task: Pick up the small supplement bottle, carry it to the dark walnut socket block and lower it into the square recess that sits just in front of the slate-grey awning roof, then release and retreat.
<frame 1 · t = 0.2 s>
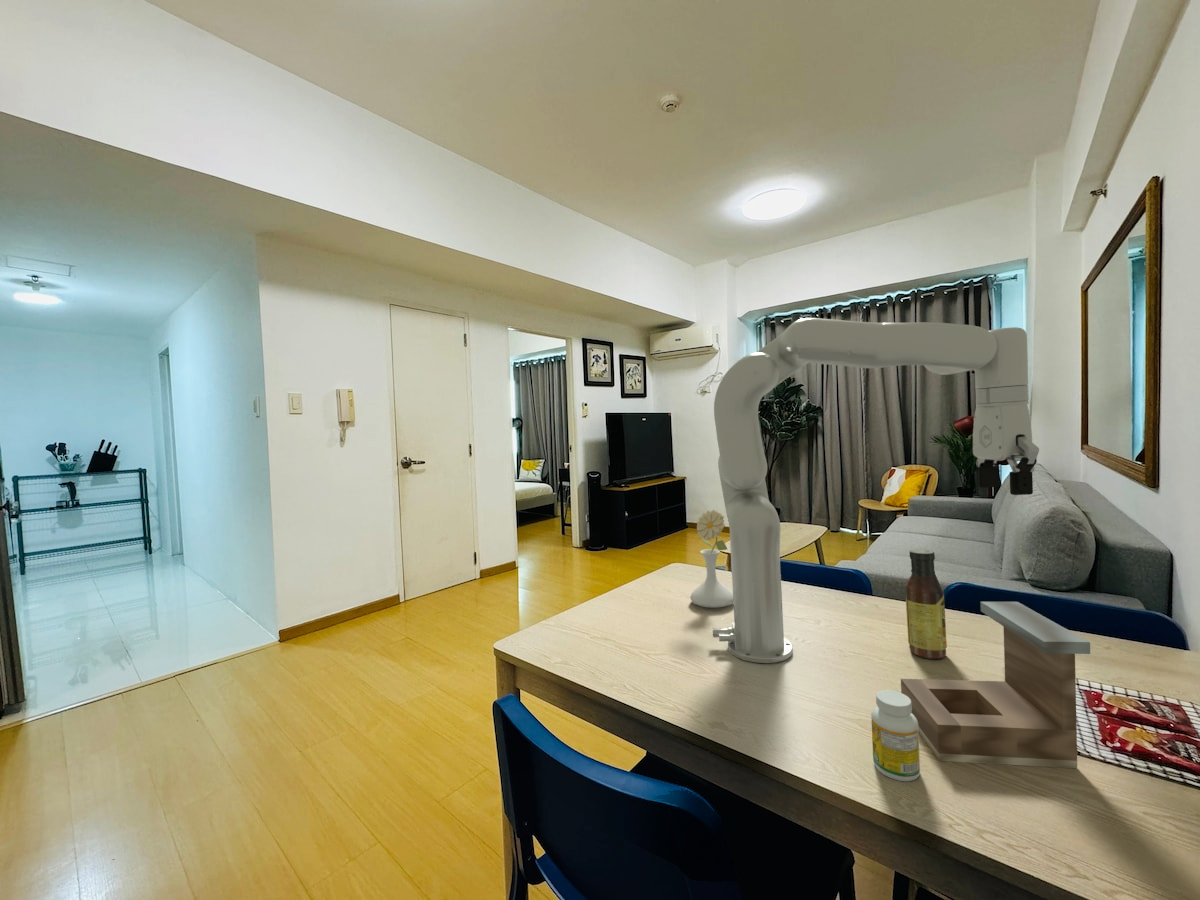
hand: (1004, 490, 91), 31 cm above the table, fingers open, 9 cm apart
flower in vase: (714, 605, 127), on the table
socket block: (964, 735, 71), on the table
supplement bottle: (896, 769, 66), on the table
sauce bottle: (927, 653, 96), on the table
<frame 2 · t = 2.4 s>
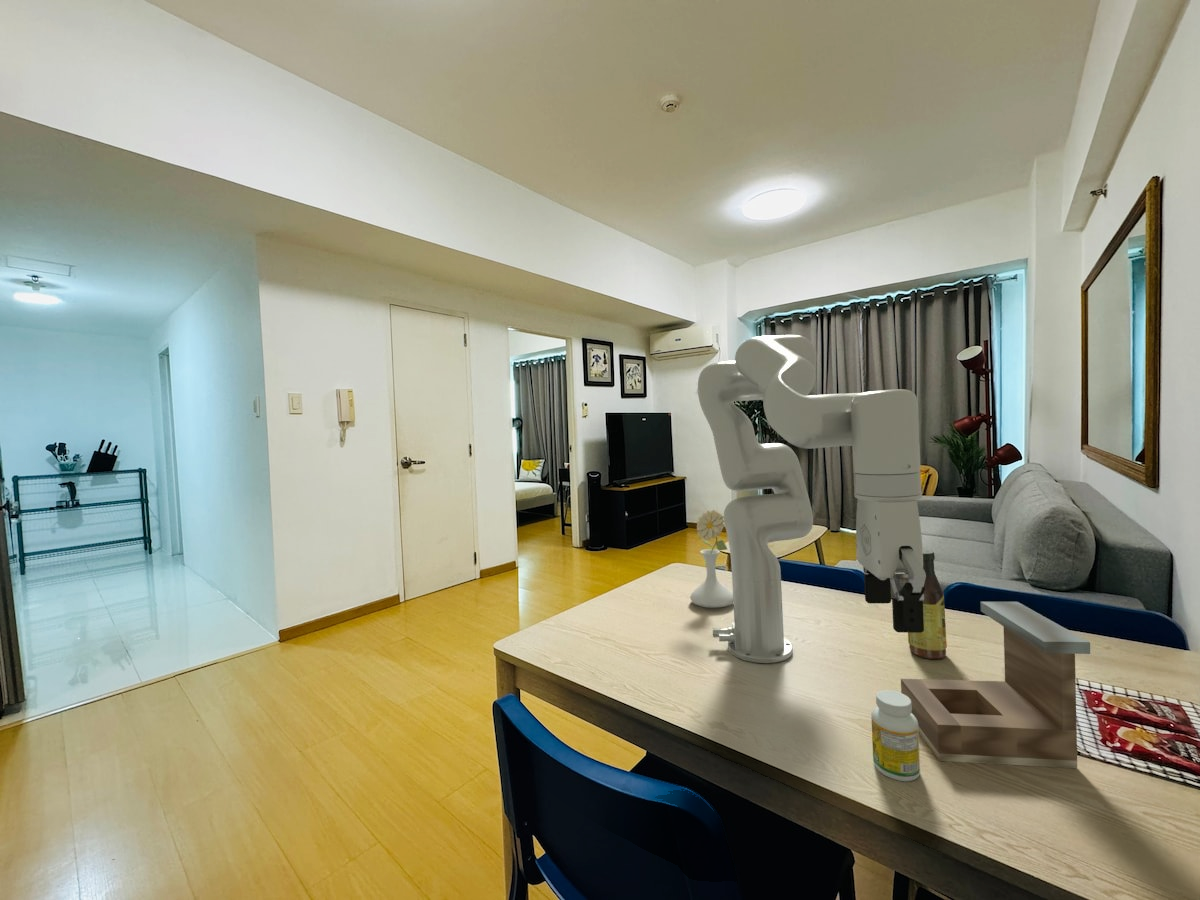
hand: (892, 616, 65), 20 cm above the table, fingers open, 9 cm apart
nothing on the table moved.
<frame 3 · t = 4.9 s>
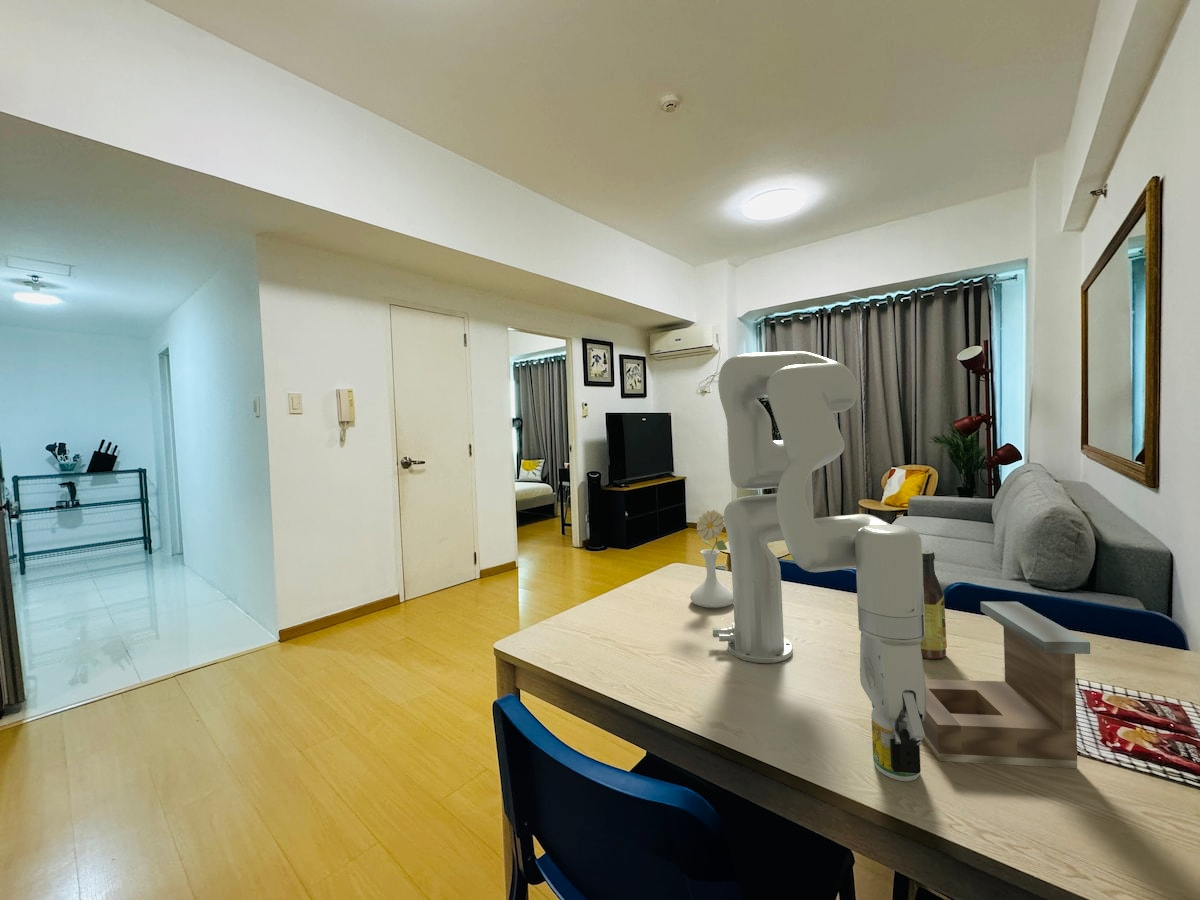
hand: (895, 753, 65), 2 cm above the table, fingers closed on supplement bottle, 5 cm apart
supplement bottle: (896, 769, 66), on the table, touching gripper
everything else where it was.
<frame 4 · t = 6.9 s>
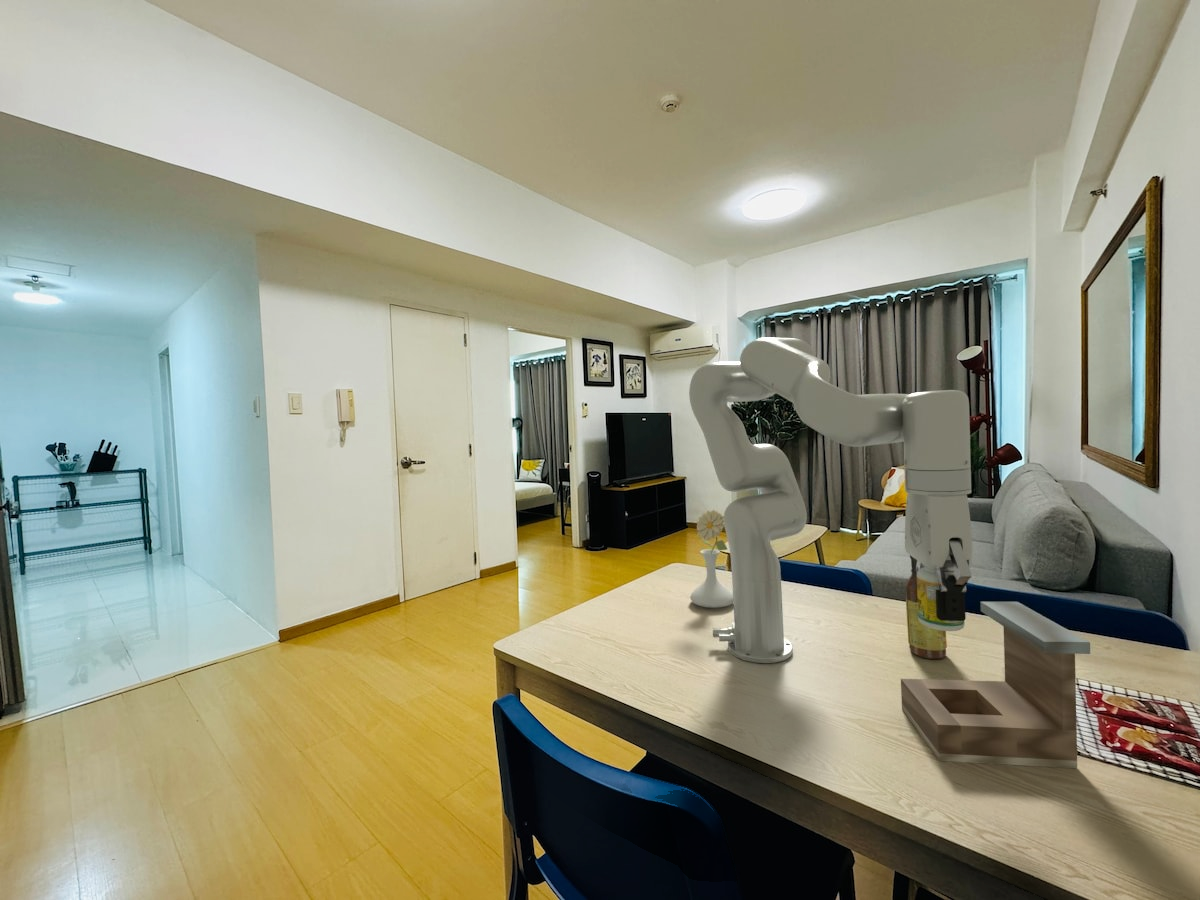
hand: (940, 609, 69), 19 cm above the table, fingers closed on supplement bottle, 5 cm apart
supplement bottle: (940, 625, 69), point 17 cm above the table, touching gripper
everything else where it was.
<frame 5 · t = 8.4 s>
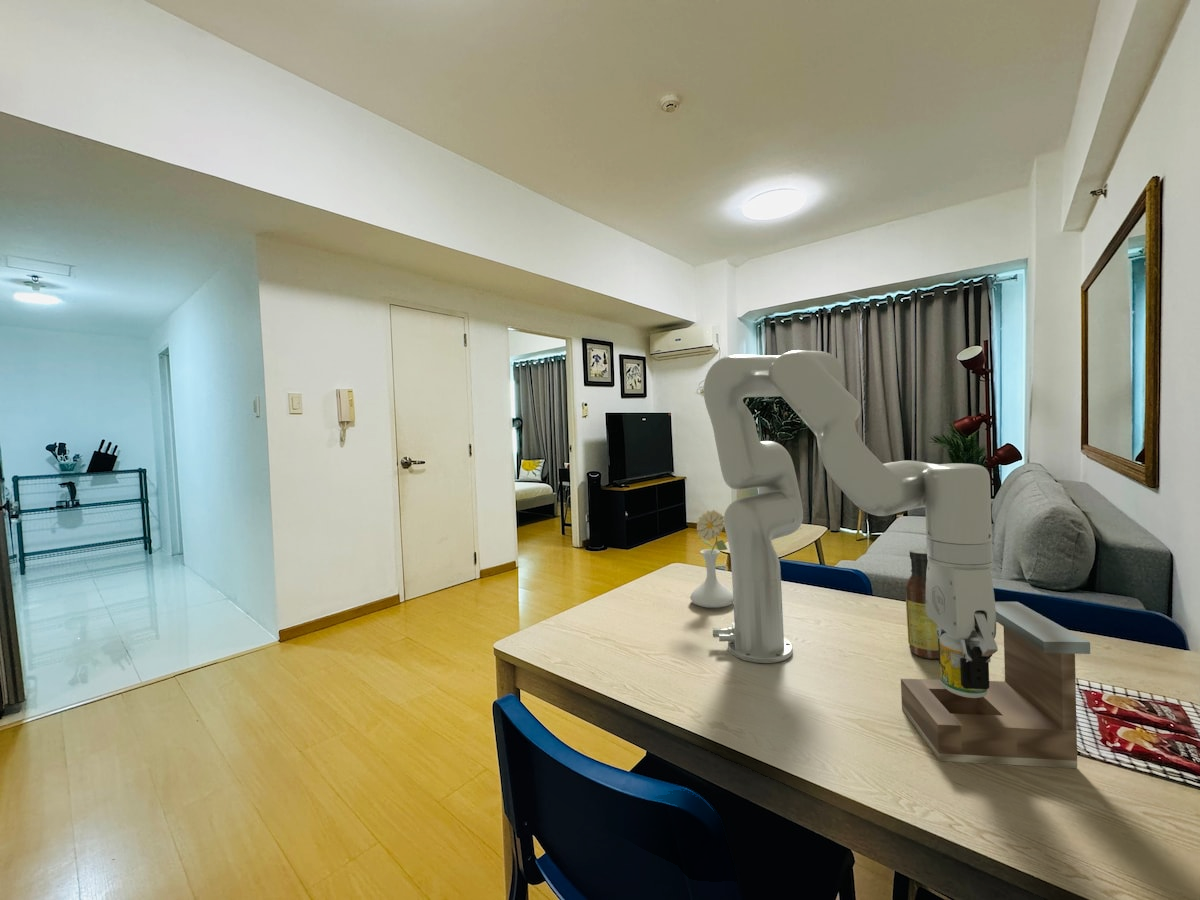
hand: (962, 675, 71), 9 cm above the table, fingers closed on supplement bottle, 5 cm apart
supplement bottle: (963, 690, 71), point 7 cm above the table, touching gripper
everything else where it was.
when the fingers open (6 cm above the table, at t = 9.4 s): supplement bottle drops 2 cm, resting on socket block.
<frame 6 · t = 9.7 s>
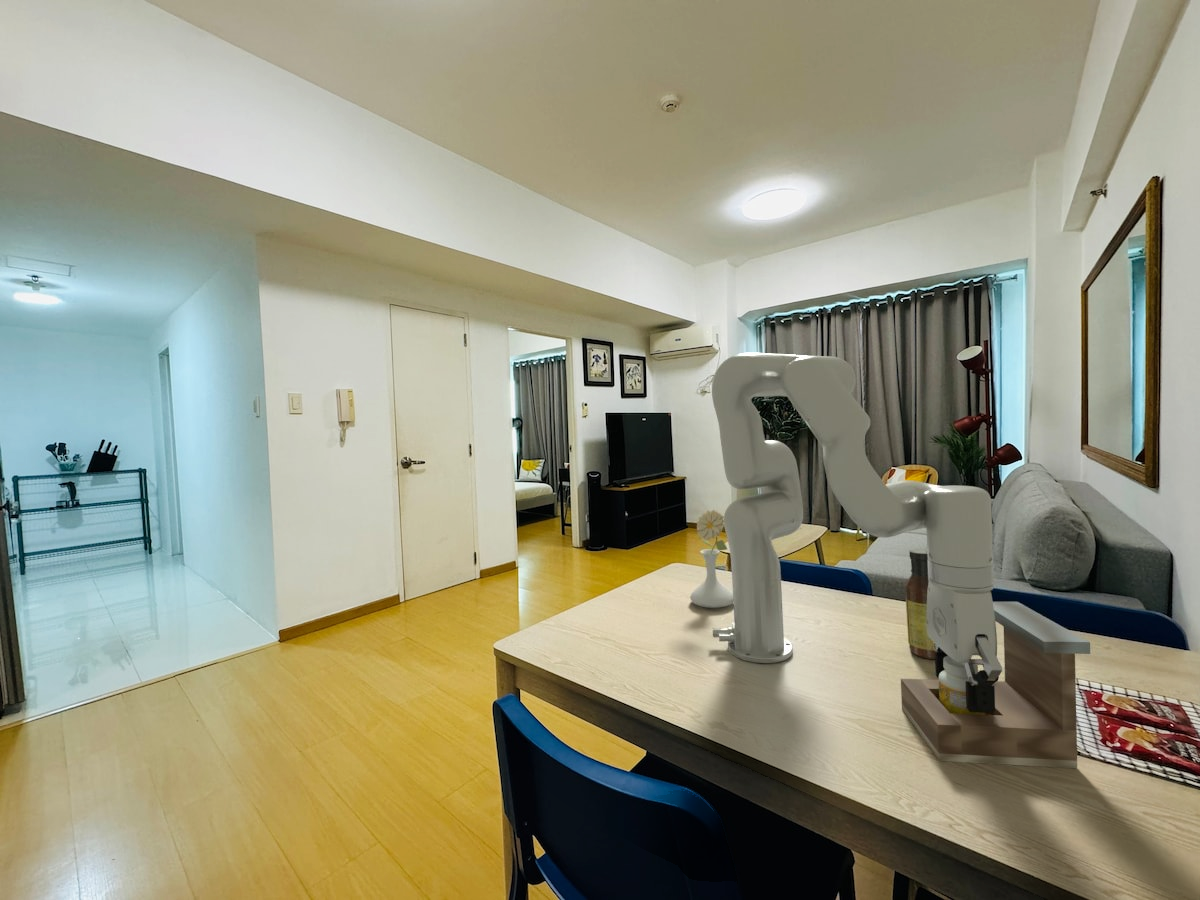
hand: (963, 693, 71), 6 cm above the table, fingers open, 8 cm apart
supplement bottle: (962, 728, 72), point 1 cm above the table, touching socket block
everything else where it was.
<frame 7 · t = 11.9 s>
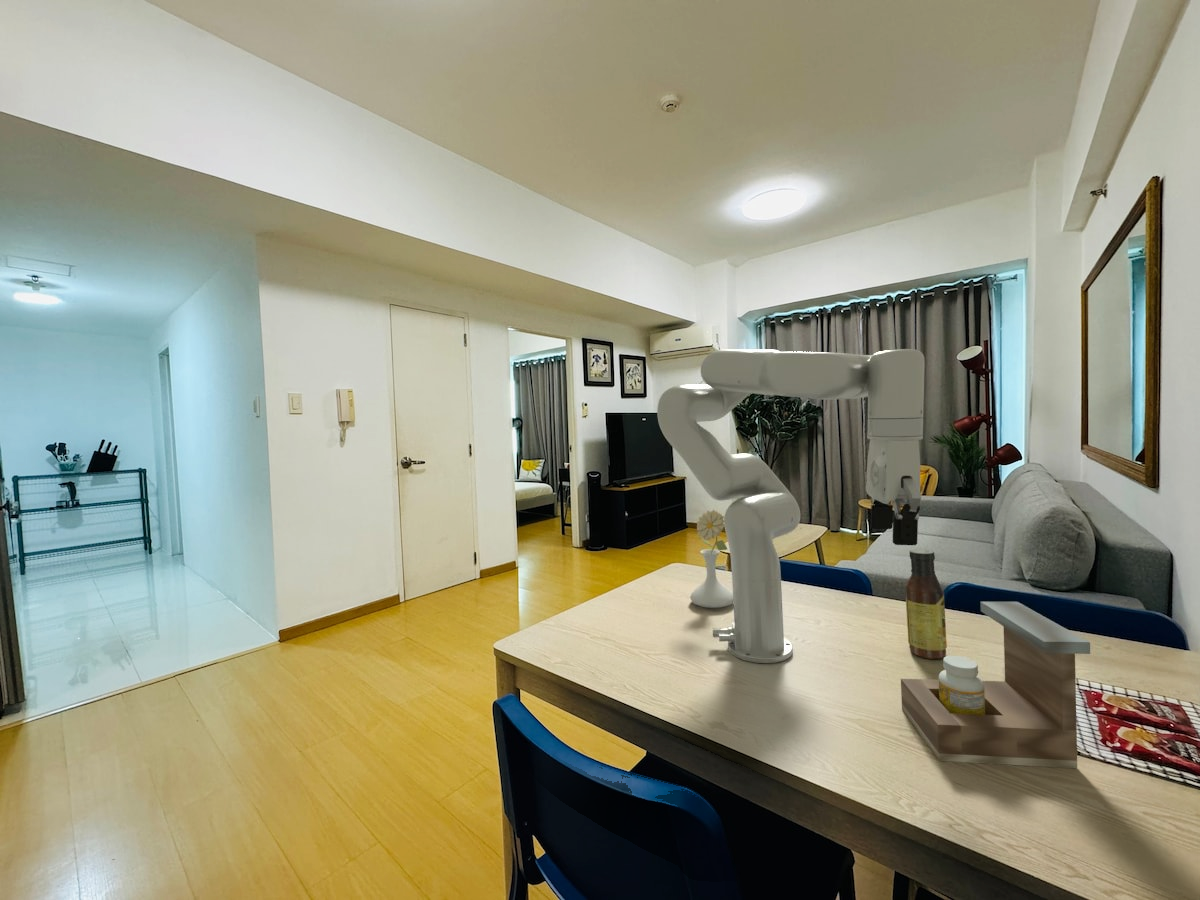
hand: (892, 536, 80), 27 cm above the table, fingers open, 9 cm apart
nothing on the table moved.
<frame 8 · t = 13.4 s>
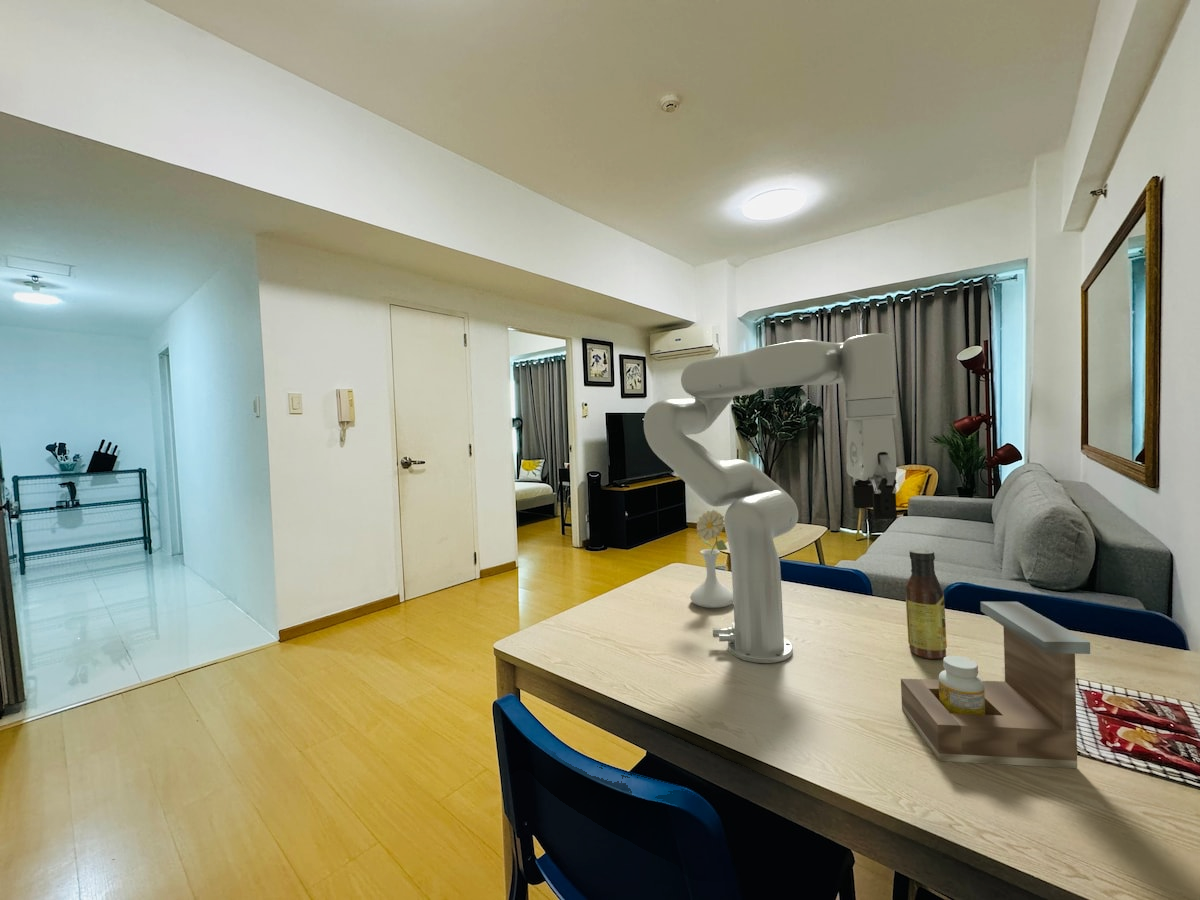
hand: (873, 512, 83), 30 cm above the table, fingers open, 9 cm apart
nothing on the table moved.
at the end: supplement bottle 0.4 cm off-centre on the socket block, point 0.8 cm above the socket block's base; supplement bottle tilted 0°; the gripper is holding nothing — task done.
